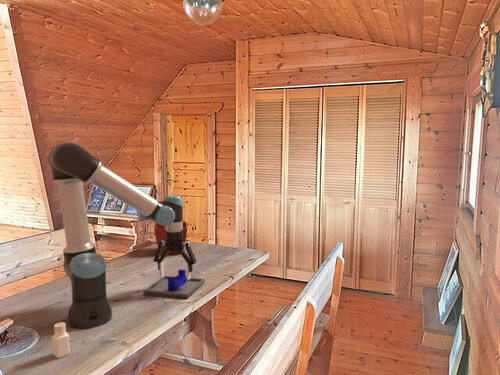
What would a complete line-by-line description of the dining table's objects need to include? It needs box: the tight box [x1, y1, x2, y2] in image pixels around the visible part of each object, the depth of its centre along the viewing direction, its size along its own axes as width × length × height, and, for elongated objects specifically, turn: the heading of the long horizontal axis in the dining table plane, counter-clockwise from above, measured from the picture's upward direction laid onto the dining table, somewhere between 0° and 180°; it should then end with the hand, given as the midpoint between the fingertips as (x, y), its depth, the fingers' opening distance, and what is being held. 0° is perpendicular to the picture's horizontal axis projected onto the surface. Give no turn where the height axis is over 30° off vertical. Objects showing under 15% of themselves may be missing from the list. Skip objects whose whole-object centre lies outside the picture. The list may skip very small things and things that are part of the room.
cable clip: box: [168, 269, 187, 292], centre depth 177 cm, size 12×4×6 cm, turn 165°
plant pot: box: [153, 221, 188, 256], centre depth 240 cm, size 19×19×17 cm
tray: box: [143, 275, 205, 300], centre depth 177 cm, size 20×20×2 cm
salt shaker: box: [51, 322, 71, 359], centre depth 120 cm, size 4×4×10 cm
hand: (175, 278), depth 177 cm, fingers open, 12 cm apart
